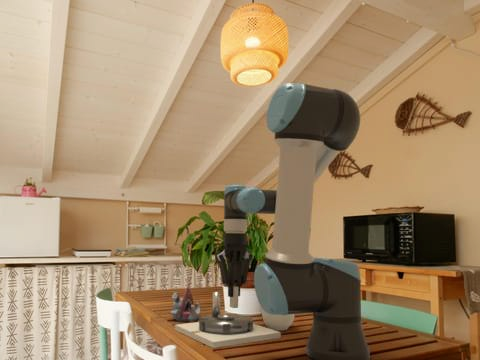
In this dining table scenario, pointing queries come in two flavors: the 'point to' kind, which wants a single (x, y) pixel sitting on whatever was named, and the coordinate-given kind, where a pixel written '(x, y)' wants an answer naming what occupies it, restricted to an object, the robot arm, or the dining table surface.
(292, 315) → the lidded jar
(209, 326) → the notched disc with hub
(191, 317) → the grey maroon spiky lump
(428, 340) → the dining table surface
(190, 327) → the base board
